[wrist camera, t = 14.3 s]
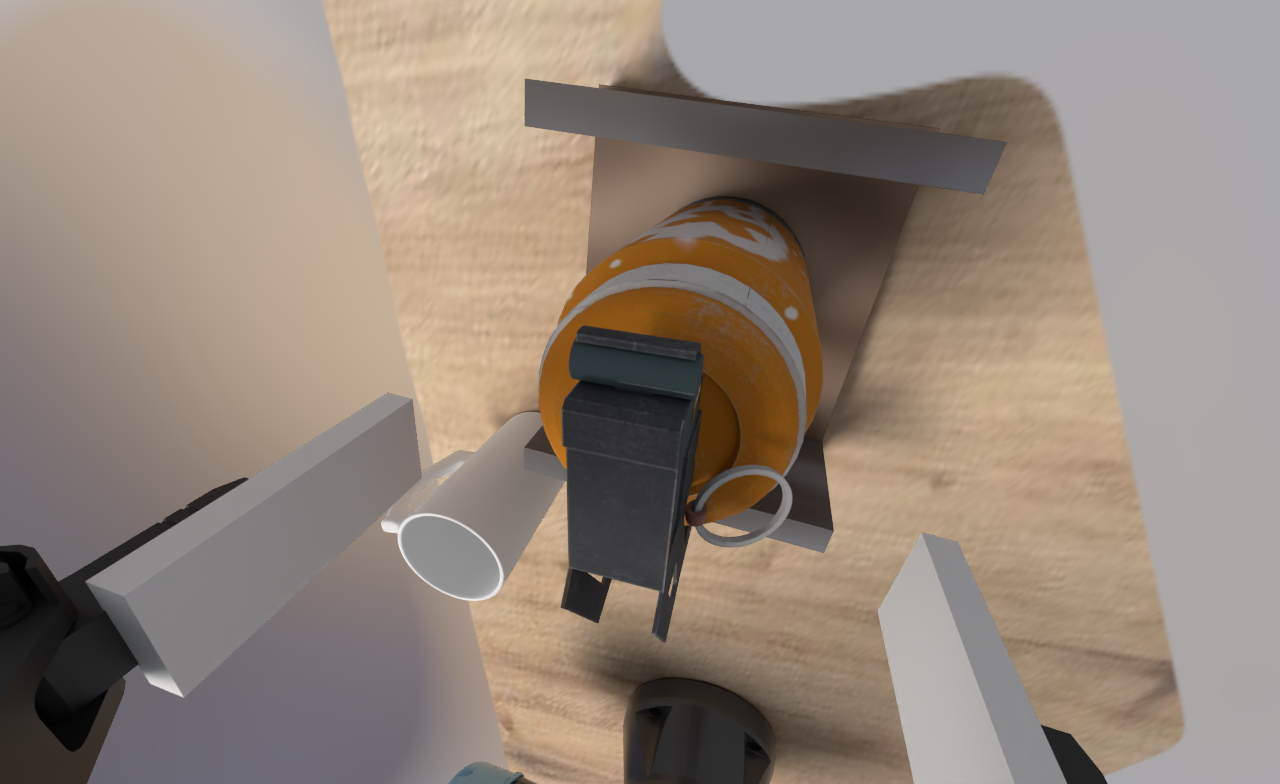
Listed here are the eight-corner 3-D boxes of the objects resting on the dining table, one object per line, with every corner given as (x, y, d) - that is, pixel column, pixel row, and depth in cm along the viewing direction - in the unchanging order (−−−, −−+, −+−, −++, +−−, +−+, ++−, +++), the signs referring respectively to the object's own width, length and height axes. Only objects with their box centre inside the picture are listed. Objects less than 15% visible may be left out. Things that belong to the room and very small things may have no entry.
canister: (825, 202, 24) (931, 371, 7) (780, 397, 29) (775, 770, 12) (649, 187, 25) (371, 287, 8) (638, 373, 31) (454, 666, 14)
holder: (811, 452, 32) (820, 559, 24) (585, 397, 34) (524, 476, 26) (931, 129, 22) (1015, 123, 14) (608, 87, 25) (524, 62, 17)
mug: (579, 415, 35) (496, 527, 25) (582, 486, 38) (509, 612, 28) (458, 395, 37) (336, 492, 27) (471, 464, 41) (365, 574, 30)
